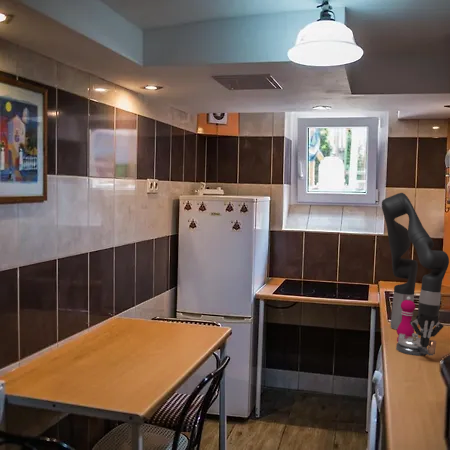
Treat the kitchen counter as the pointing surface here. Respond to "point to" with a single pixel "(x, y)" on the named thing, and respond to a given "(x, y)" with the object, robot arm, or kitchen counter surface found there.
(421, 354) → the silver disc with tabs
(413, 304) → the pepper mill
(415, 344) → the crank handle
